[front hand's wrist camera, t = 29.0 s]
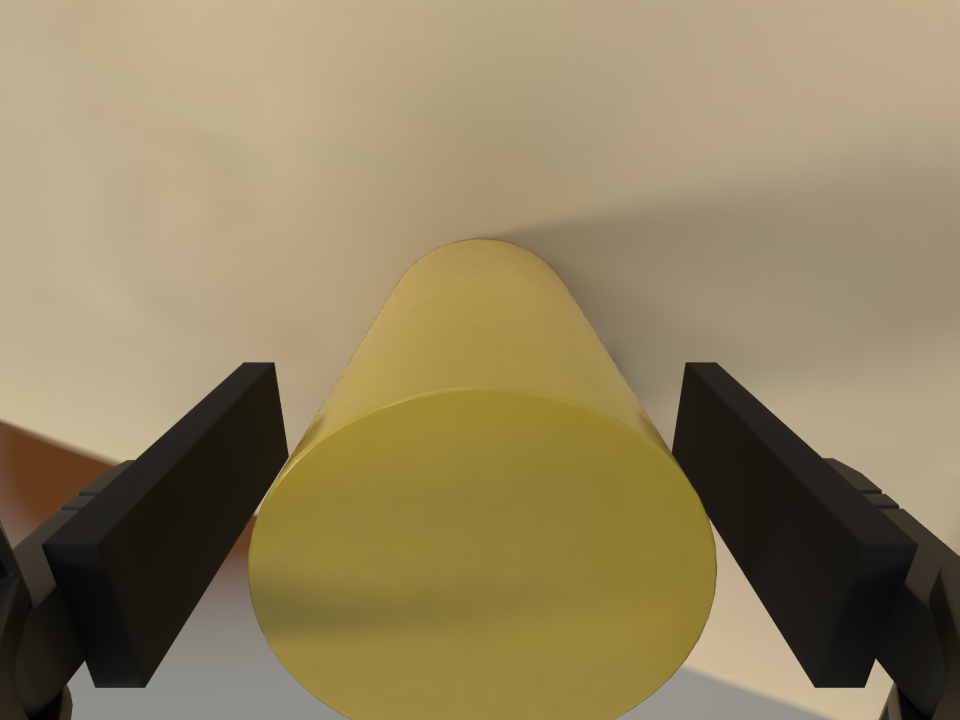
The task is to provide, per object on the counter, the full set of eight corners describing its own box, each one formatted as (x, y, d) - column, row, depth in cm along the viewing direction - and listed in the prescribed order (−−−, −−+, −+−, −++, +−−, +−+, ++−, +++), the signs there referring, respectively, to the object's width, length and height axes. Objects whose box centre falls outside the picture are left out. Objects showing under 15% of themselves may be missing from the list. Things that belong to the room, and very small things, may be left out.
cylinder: (618, 334, 19) (813, 593, 8) (483, 455, 21) (487, 804, 10) (477, 193, 17) (473, 272, 6) (343, 339, 19) (153, 604, 8)
